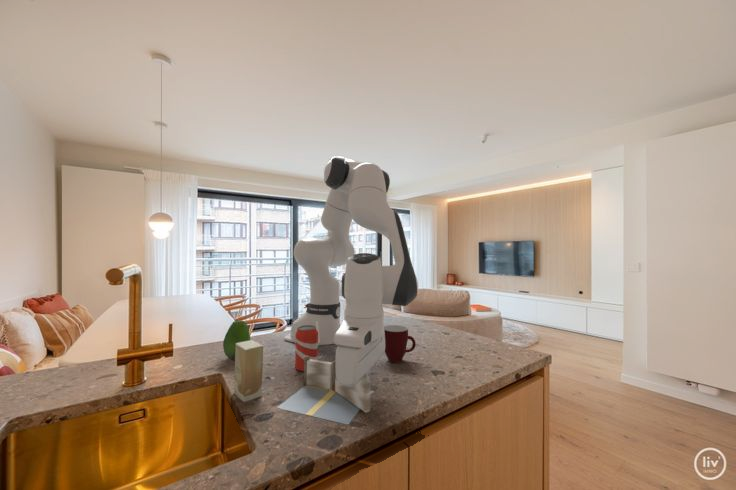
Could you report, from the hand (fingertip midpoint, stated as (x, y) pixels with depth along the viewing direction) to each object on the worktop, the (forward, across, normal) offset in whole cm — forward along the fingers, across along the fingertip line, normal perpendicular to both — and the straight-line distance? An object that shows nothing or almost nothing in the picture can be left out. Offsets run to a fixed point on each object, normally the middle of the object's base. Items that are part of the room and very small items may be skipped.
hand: (364, 387), depth 67 cm
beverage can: (+4, -12, -23) cm, 26 cm away
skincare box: (+4, +7, -27) cm, 28 cm away
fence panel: (+3, +1, -3) cm, 4 cm away
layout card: (+4, +2, -8) cm, 9 cm away
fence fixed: (+3, -3, -13) cm, 13 cm away
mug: (+5, -29, 0) cm, 30 cm away
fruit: (+4, -10, -48) cm, 49 cm away
